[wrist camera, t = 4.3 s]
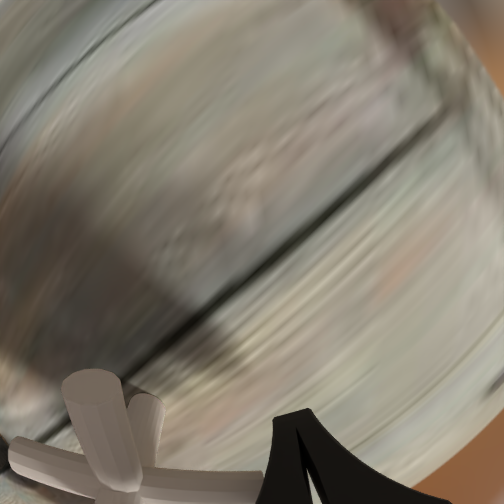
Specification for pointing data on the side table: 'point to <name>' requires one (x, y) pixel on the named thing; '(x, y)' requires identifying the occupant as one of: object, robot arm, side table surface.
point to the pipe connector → (122, 452)
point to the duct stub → (3, 452)
